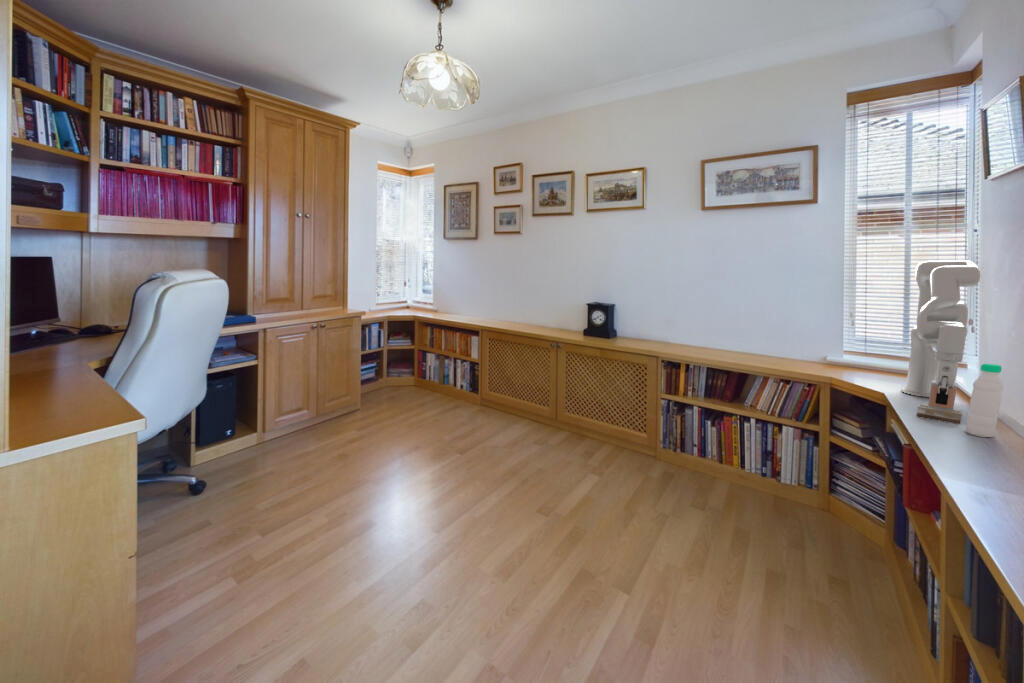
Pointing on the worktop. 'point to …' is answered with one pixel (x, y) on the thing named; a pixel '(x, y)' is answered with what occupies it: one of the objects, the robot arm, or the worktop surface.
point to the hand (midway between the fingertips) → (941, 401)
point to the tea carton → (950, 397)
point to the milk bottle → (985, 402)
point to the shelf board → (939, 414)
